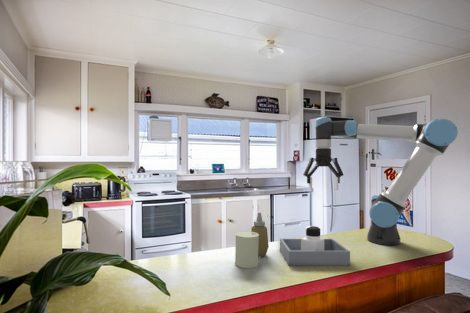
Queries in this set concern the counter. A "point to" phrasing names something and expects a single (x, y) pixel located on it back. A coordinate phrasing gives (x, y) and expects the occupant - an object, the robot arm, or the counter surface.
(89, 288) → the counter surface
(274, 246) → the counter surface
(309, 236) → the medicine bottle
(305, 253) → the grey box
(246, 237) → the can
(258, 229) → the squeeze bottle
